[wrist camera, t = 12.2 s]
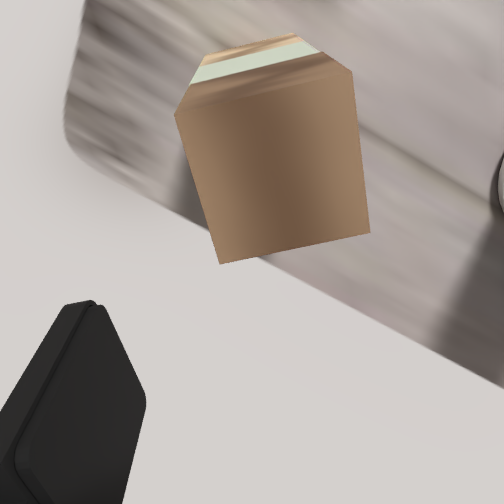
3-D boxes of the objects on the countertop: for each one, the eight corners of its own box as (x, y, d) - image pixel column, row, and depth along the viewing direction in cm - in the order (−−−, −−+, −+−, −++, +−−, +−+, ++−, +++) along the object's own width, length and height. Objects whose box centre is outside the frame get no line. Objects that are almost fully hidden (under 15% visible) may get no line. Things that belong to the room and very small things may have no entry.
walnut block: (322, 51, 20) (351, 71, 15) (340, 178, 23) (370, 232, 18) (190, 84, 21) (174, 114, 15) (224, 204, 24) (219, 264, 18)
